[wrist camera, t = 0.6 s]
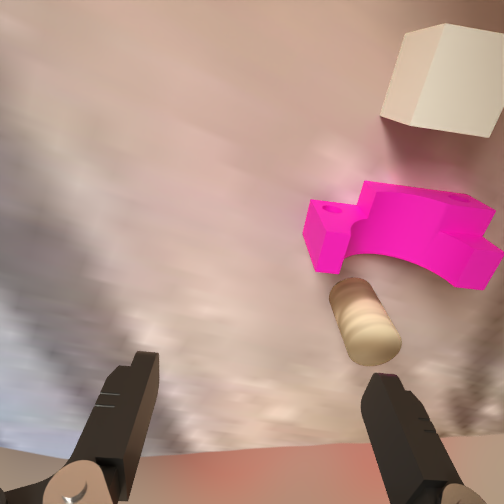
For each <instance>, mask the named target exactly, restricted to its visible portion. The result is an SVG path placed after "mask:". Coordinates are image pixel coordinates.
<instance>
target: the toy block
mask: <svg viewBox="0 0 504 504" xmlns="http://www.w3.org/2000/svg"><path fill="white" fill-rule="evenodd" d="M495 212H496V210H494V209H492V208H490V207H489V206H487V205H485V204H483V203H481V202H480V201H478V200H476V199H474V198H473V197H471V196H469V195H467V194H461V193H453V192H446V191H438V190H431V189H423V188H416V187H409V186H401V185H394V184H386V183H379V182H371V181H364V184H363V187H362V190H361V193H360V196H359V200H358V203H357V205H351V204H343V203H336V202H328V201H320V200H312V199H311V200H310V204H309V208H308V212H307V217H306V221H305V225H304V229H303V237H304V240H305V242H306V245H307V248H308V251H309V254H310V257H311V260H312V263H313V266H314V269H315V272H323V273H332V274H339V272H340V269H341V266H342V263H343V260H344V259H345V258H347V257H349V256H352V255H356V254H381V255H387V256H392V257H396V258H400V259H403V260H406V261H409V262H412V263H414V264H417V265H419V266H422V267H424V268H426V269H428V270H430V271H432V272H434V273H435V274H437V275H439V276H440V277H442V278H443V279H445V280H446V281H448V282H449V283H450V284H452V285H453V286H454V287H458V288H467V289H476V290H484V289H485V287H486V285H487V284H488V282H489V280H490V279H491V277H492V275H493V274H494V272H495V270H496V268H497V267H498V265H499V263H500V262H501V260H502V258H503V257H504V252H503V251H502V250H501V249H499V248H498V247H496V246H495V245H494V244H492V243H491V242H489V241H488V240H486V239H485V238H484V237H482V236H483V235H484V233H485V231H486V229H487V227H488V225H489V223H490V221H491V220H492V218H493V216H494V214H495Z"/></svg>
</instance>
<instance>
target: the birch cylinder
mask: <svg viewBox="0 0 504 504" xmlns="http://www.w3.org/2000/svg"><path fill="white" fill-rule="evenodd" d="M329 301H330V304H331V307H332V310H333V313H334V316H335V318H336V321H337V324H338V327H339V330H340V332H341V335H342V338H343V341H344V344H345V347H346V349H347V352H348V355H349V357H350V358H351V360H352V361H354V362H355V363H357V364H359V365H363V366H376V365H380V364H383V363H386V362H388V361H390V360H391V359H392V358H394V357H395V356H396V355H397V354H398V352H399V351H400V349H401V345H402V341H401V337H400V335H399V334H398V332H397V330H396V329H395V327H394V325H393V323H392V322H391V320H390V318H389V316H388V315H387V313H386V311H385V309H384V308H383V306H382V304H381V302H380V301H379V299H378V297H377V295H376V294H375V292H374V290H373V288H372V287H371V285H370V284H369V283H368V282H367V281H366V280H364V279H361V278H348V279H344V280H342V281H340V282H339V283H337V284H336V285H335V286H334V287H333V288H332V290H331V292H330V295H329Z"/></svg>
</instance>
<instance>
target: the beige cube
mask: <svg viewBox="0 0 504 504" xmlns="http://www.w3.org/2000/svg"><path fill="white" fill-rule="evenodd" d="M503 107H504V34H503V33H497V32H492V31H486V30H481V29H475V28H470V27H464V26H458V25H453V24H447V23H444V24H440V25H436V26H432V27H428V28H424V29H420V30H416V31H412V32H408V33H405V35H404V39H403V42H402V45H401V48H400V52H399V55H398V58H397V61H396V65H395V68H394V71H393V74H392V78H391V81H390V84H389V88H388V91H387V94H386V97H385V101H384V104H383V107H382V110H381V114H380V116H382V117H385V118H388V119H391V120H394V121H397V122H400V123H403V124H406V125H409V126H415V127H421V128H428V129H435V130H441V131H448V132H454V133H461V134H467V135H474V136H480V137H487V138H489V137H490V135H491V133H492V131H493V129H494V126H495V124H496V122H497V120H498V118H499V116H500V114H501V112H502V109H503Z"/></svg>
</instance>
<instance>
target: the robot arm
mask: <svg viewBox="0 0 504 504" xmlns="http://www.w3.org/2000/svg"><path fill="white" fill-rule="evenodd" d="M158 388H159V353H155V352H143V351H137V352H136V354H135V356H134V359H133V361H132V364H131V366H120V365H119V366H118V367H117V368H116V369H115V370H114V371H113V372H112V373H111V374H110V375H109V376H108V377H107V379H106V381H105V383H104V385H103V388H102V390H101V393H100V395H99V396H98V399H97V401H96V403H95V407H93V410H92V412H91V414H90V416H89V418H88V421H87V423H86V425H85V427H84V429H83V432H82V434H81V436H80V438H79V440H78V443H77V445H76V447H75V449H74V451H73V453H72V455H71V457H70V459H69V460H68V461H67V463H66V464H65V465H64V466H63V467H62V468H61V469H60V470H59V471H58V472H57V473H55V474H54V475H52V476H51V477H49V478H48V479H46V480H43V481H41V482H38V483H36V484H32V485H28V486H25V487H21V488H17V489H14V490H10V491H7V492H3V490H2V489H1V488H0V504H118V501H128V499H129V496H130V492H131V488H132V485H133V481H134V478H135V474H136V470H137V467H138V463H139V459H140V456H141V452H142V449H143V445H144V442H145V438H146V434H147V431H148V427H149V424H150V420H151V416H152V413H153V409H154V406H155V402H156V398H157V394H158ZM361 413H362V417H363V420H364V423H365V426H366V429H367V432H368V435H369V439H370V442H371V445H372V448H373V451H374V454H375V457H376V460H377V463H378V466H379V470H380V473H381V476H382V479H383V482H384V485H385V488H386V491H387V494H388V497H389V501H390V504H486V502H485V501H484V500H483V499H482V498H481V497H480V496H479V495H478V494H477V493H475V492H474V491H473V490H471V489H470V488H468V487H466V486H465V485H464V484H463V482H462V480H461V479H460V477H459V475H458V473H457V471H456V469H455V467H454V465H453V463H452V461H451V459H450V457H449V455H448V453H447V451H446V449H445V447H444V445H443V443H442V442H441V440H440V438H439V436H438V434H436V430H435V428H434V426H433V424H432V422H430V418H429V416H428V414H427V412H426V410H425V408H424V406H423V404H422V403H421V402H420V401H419V400H418V399H417V398H416V396H415V395H414V394H413V393H412V392H411V391H406V390H405V389H404V387H403V385H402V383H401V381H400V379H399V377H398V376H397V375H395V374H384V373H374V374H373V375H372V377H371V380H370V382H369V384H368V386H367V388H366V390H365V392H364V394H363V397H362V399H361Z"/></svg>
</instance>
